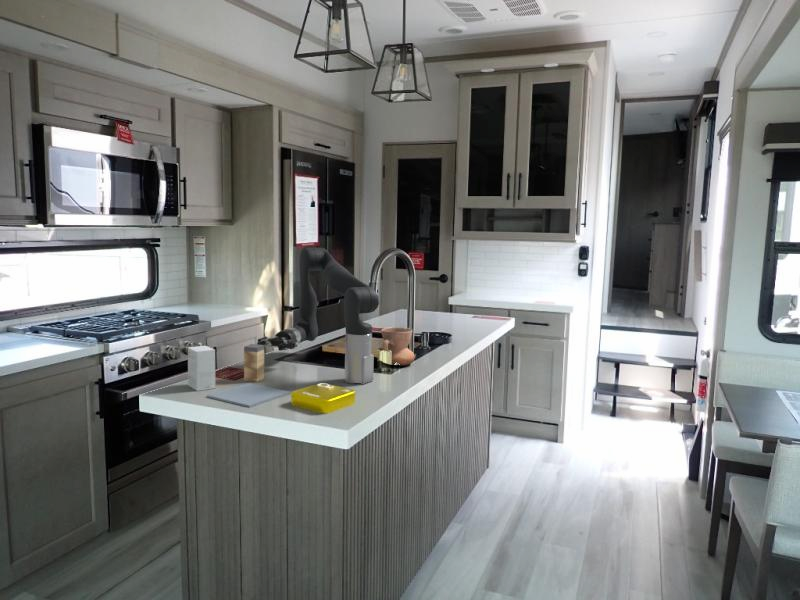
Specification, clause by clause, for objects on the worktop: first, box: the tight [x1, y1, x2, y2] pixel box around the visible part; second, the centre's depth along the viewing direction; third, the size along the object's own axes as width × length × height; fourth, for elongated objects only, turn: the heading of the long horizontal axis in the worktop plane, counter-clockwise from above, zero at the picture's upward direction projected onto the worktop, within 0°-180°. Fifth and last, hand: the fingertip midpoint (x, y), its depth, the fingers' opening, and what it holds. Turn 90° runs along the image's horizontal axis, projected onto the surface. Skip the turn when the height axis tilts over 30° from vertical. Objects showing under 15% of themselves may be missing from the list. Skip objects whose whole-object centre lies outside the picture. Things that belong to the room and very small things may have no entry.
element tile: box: [290, 382, 356, 415], centre depth 181 cm, size 15×15×5 cm
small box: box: [187, 345, 216, 392], centre depth 194 cm, size 8×6×13 cm
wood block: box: [243, 343, 265, 383], centre depth 205 cm, size 5×5×12 cm
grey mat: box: [206, 382, 291, 408], centre depth 187 cm, size 18×18×1 cm
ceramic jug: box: [378, 326, 416, 367], centre depth 235 cm, size 18×14×14 cm
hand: (268, 346), depth 216 cm, fingers open, 8 cm apart
